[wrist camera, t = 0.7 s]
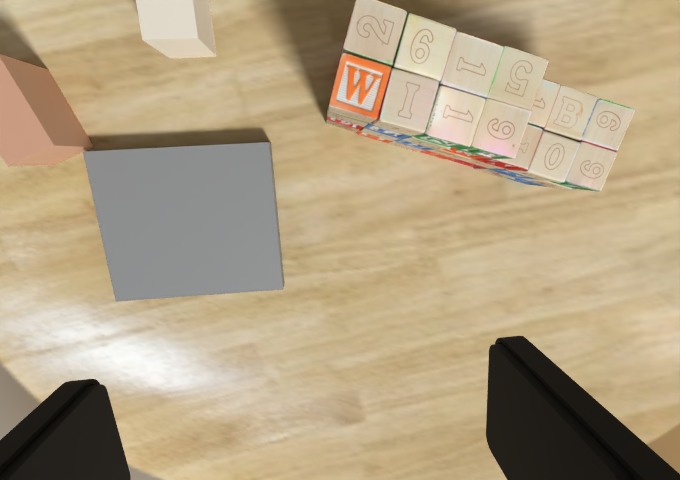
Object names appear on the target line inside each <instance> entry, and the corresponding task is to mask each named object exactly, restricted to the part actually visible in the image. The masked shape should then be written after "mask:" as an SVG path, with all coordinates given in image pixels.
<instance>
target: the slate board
mask: <svg viewBox="0 0 680 480" xmlns="http://www.w3.org/2000/svg"><path fill="white" fill-rule="evenodd" d="M83 154H84V159H85V163H86V168H87V172H88V177H89V181H90V186H91V190H92V195H93V200H94V204H95V209H96V213H97V218H98V222H99V227H100V231H101V236H102V241H103V245H104V250H105V254H106V259H107V263H108V268H109V272H110V277H111V282H112V286H113V291H114V295H115V300H116V301H129V300H143V299H157V298H171V297H185V296H198V295H212V294H226V293H240V292H254V291H268V290H281V289H283V287H284V275H283V265H282V254H281V244H280V233H279V223H278V212H277V202H276V192H275V181H274V171H273V160H272V150H271V143H270V142H261V143H241V144H222V145H202V146H182V147H163V148H143V149H123V150H104V151H84V152H83Z"/></svg>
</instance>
